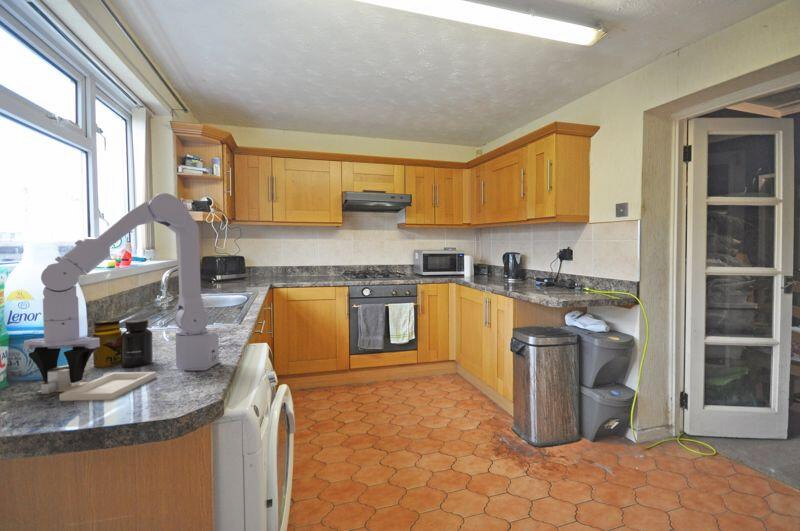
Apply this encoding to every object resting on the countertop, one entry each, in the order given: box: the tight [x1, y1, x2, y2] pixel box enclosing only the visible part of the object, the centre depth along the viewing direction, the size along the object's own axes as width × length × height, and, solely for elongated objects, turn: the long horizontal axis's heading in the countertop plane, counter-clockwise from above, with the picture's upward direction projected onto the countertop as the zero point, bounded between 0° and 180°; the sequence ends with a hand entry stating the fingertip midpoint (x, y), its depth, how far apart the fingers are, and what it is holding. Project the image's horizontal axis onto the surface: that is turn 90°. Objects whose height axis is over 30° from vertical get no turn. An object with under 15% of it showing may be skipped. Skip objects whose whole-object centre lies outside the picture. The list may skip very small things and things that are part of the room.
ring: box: [40, 364, 80, 395], centre depth 81 cm, size 5×7×4 cm
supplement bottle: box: [120, 319, 154, 369], centre depth 99 cm, size 7×7×12 cm
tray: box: [58, 371, 157, 402], centre depth 81 cm, size 10×14×2 cm
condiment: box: [92, 319, 123, 368], centre depth 100 cm, size 7×8×12 cm
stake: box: [36, 381, 89, 393], centre depth 82 cm, size 6×6×4 cm
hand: (63, 381), depth 82 cm, fingers closed on ring, 5 cm apart
